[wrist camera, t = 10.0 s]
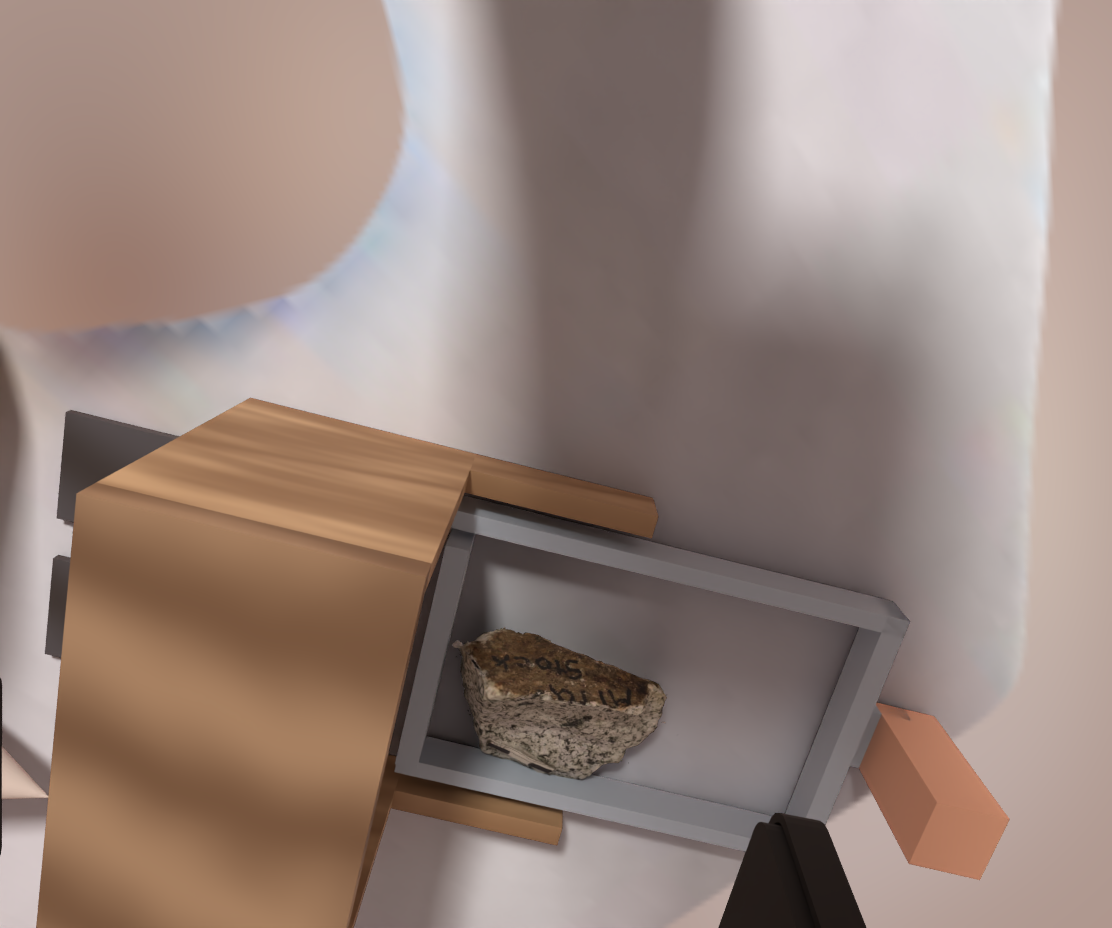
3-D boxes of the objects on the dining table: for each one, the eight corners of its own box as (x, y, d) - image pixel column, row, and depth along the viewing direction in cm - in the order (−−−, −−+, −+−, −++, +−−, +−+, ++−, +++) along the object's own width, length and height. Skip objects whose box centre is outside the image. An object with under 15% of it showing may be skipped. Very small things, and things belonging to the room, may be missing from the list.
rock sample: (417, 829, 37) (492, 816, 30) (409, 658, 40) (476, 610, 33) (614, 806, 42) (719, 789, 35) (594, 654, 45) (686, 611, 38)
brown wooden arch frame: (76, 354, 35) (-196, 427, 23) (652, 497, 37) (694, 641, 24) (46, 694, 40) (-193, 909, 27) (558, 810, 41) (551, 1066, 29)
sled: (461, 495, 36) (436, 557, 30) (976, 621, 38) (1064, 708, 31) (402, 745, 40) (368, 851, 33) (873, 853, 41) (932, 976, 35)
